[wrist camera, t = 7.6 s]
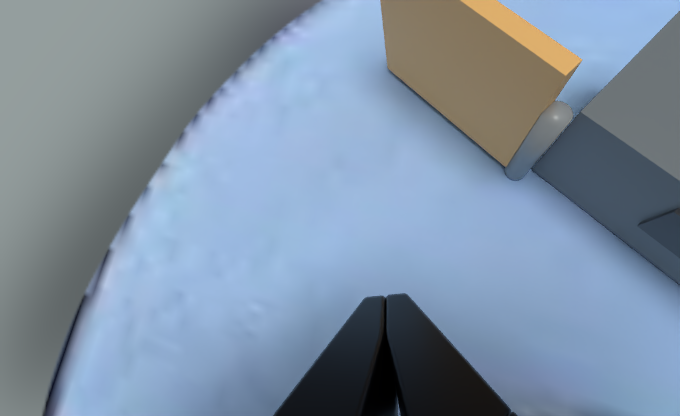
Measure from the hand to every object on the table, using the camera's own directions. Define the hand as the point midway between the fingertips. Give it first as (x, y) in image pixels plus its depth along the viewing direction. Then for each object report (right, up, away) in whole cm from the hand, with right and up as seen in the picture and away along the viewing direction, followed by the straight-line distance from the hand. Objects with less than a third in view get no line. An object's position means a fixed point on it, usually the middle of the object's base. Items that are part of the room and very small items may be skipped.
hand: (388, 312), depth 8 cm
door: (+5, +7, +13) cm, 15 cm away
